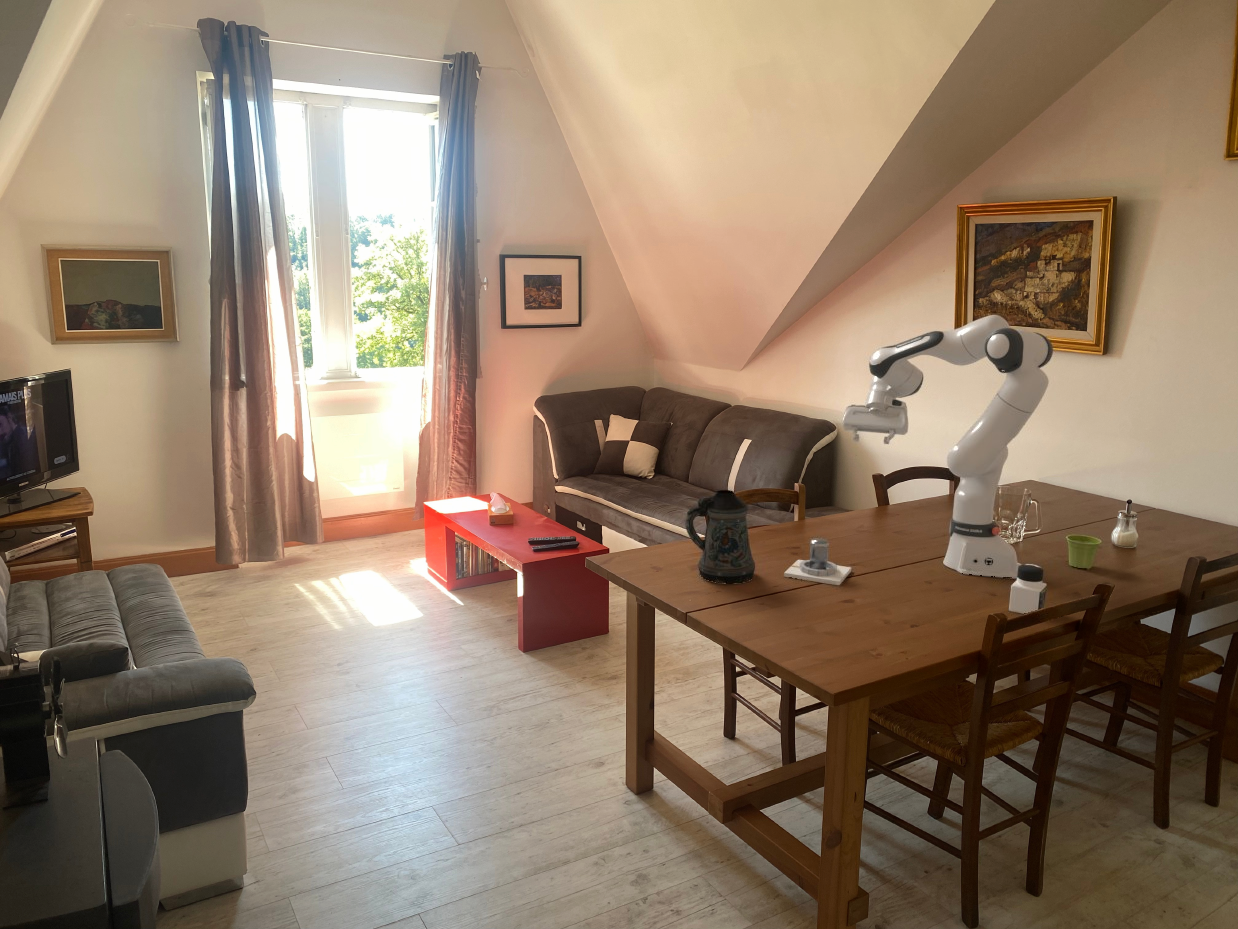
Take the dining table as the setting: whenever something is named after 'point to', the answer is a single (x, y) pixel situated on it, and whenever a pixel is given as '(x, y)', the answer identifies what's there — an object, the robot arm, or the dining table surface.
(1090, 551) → the plant pot
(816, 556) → the coupling
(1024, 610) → the medicine bottle
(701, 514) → the beer stein
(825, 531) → the dining table surface
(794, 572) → the mounting plate
